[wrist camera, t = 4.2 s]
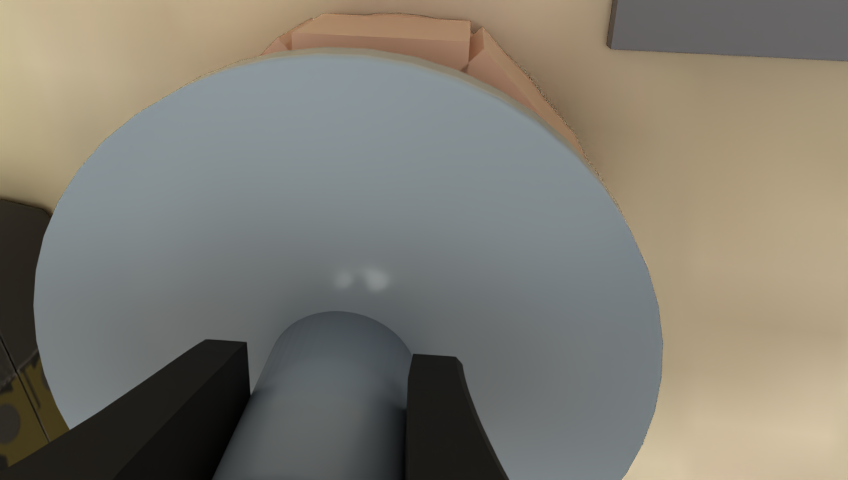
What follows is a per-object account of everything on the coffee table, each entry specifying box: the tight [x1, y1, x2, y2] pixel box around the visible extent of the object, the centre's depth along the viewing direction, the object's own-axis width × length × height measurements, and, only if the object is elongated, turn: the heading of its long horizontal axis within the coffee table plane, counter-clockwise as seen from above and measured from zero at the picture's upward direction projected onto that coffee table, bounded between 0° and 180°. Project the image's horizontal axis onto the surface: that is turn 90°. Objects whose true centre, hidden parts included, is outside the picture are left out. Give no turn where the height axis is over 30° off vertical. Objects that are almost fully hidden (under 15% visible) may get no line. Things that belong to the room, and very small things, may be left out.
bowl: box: [260, 13, 588, 162], centre depth 17 cm, size 9×9×4 cm
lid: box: [33, 47, 663, 480], centre depth 10 cm, size 10×10×4 cm
